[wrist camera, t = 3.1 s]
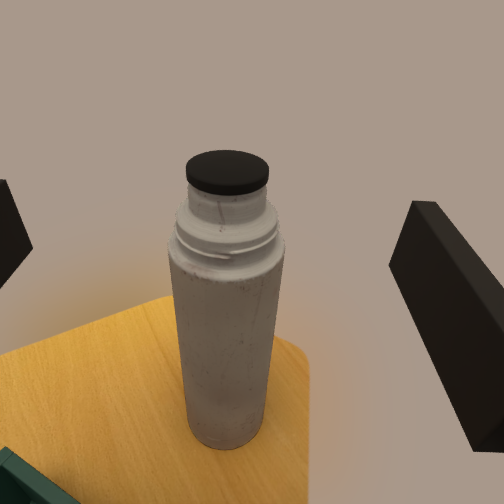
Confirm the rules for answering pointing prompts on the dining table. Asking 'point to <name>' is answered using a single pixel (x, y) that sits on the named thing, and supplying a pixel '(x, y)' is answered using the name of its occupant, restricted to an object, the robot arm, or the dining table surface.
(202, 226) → the thermos bottle
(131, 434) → the dining table surface
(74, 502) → the box
